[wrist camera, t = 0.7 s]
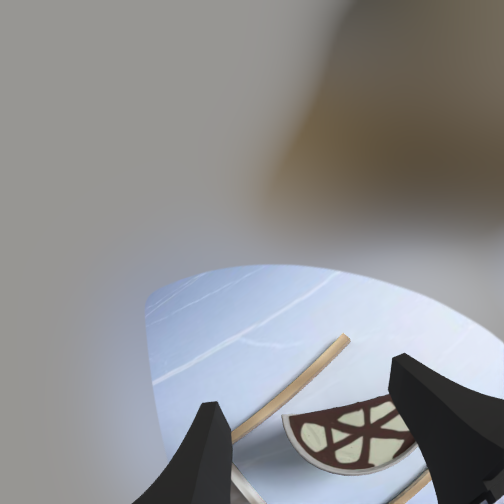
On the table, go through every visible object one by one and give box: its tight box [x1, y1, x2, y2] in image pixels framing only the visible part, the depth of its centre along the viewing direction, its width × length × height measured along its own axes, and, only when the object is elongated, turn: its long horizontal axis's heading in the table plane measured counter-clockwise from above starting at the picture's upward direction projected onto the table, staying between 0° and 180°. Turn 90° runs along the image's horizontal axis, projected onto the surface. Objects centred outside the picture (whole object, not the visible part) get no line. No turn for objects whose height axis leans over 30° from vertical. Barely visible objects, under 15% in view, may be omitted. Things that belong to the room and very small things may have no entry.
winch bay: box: [230, 333, 432, 504], centre depth 18 cm, size 19×21×5 cm
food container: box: [281, 394, 418, 476], centre depth 17 cm, size 12×6×10 cm, turn 94°
